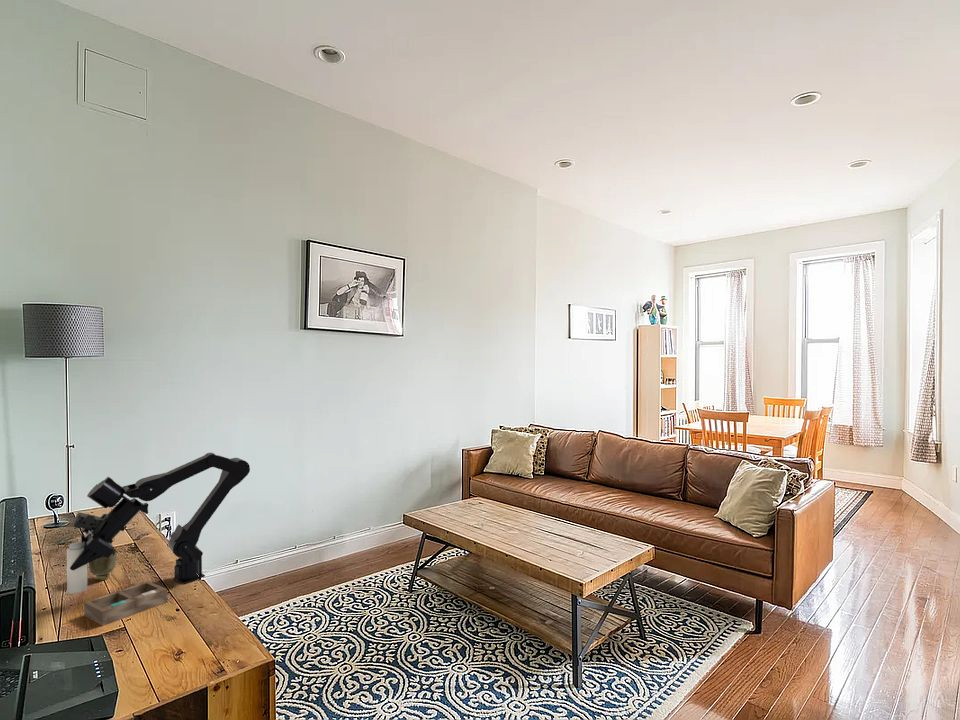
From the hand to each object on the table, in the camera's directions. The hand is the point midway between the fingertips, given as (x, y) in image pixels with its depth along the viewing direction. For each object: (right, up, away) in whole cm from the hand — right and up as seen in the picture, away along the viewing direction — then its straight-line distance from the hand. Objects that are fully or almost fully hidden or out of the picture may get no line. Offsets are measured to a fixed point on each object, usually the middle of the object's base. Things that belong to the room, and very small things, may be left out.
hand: (70, 566), depth 148 cm
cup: (-4, -11, +19) cm, 22 cm away
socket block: (+15, -11, -1) cm, 19 cm away
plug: (+1, -7, +1) cm, 7 cm away
